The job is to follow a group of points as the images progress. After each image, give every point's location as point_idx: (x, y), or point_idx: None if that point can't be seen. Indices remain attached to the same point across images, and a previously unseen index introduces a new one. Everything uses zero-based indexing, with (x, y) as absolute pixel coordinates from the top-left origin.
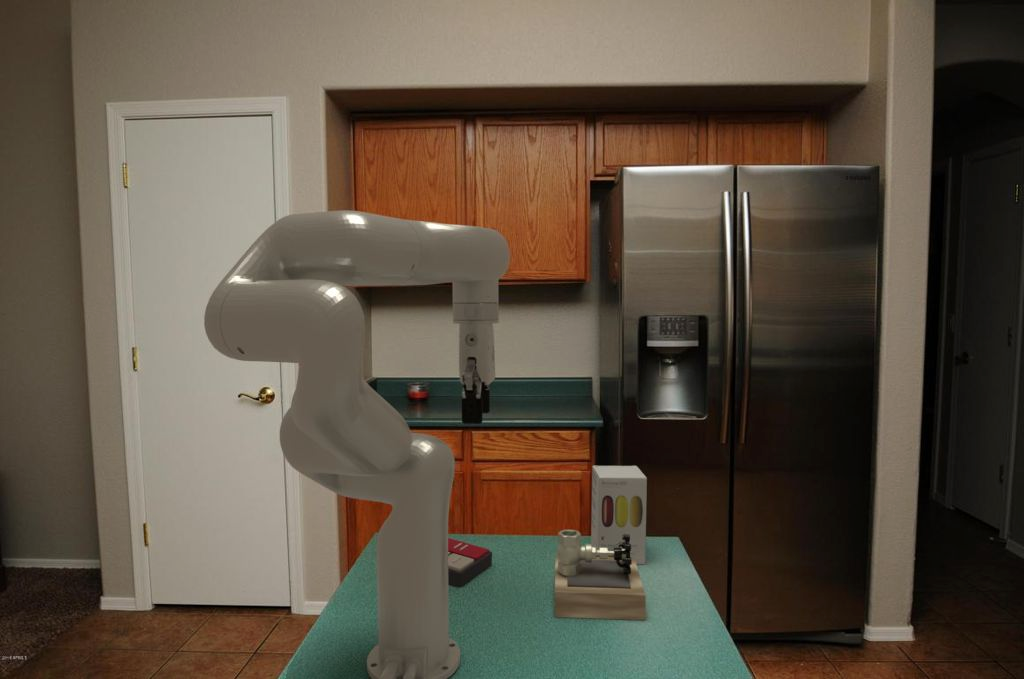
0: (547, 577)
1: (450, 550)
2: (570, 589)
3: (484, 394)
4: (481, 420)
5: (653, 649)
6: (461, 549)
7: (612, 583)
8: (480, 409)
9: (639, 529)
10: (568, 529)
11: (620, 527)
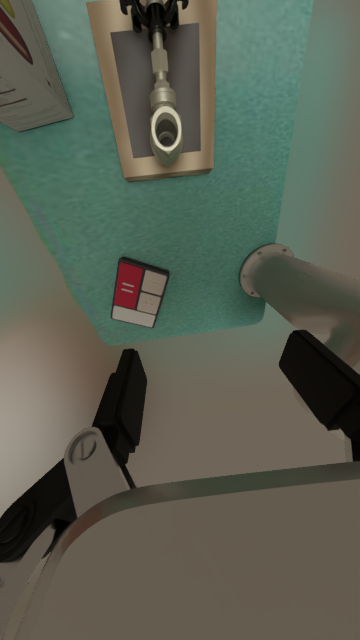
0: (130, 192)
1: (137, 293)
2: (206, 145)
3: (129, 411)
4: (307, 333)
5: (271, 17)
6: (133, 285)
7: (191, 66)
8: (334, 359)
9: None
10: (152, 133)
11: (13, 10)
